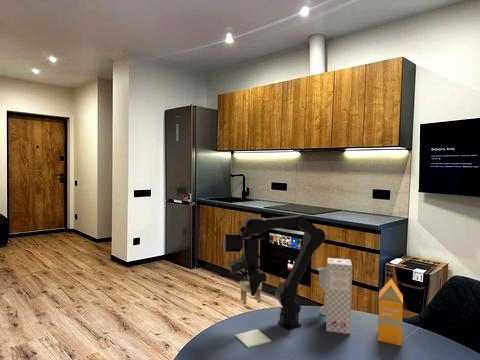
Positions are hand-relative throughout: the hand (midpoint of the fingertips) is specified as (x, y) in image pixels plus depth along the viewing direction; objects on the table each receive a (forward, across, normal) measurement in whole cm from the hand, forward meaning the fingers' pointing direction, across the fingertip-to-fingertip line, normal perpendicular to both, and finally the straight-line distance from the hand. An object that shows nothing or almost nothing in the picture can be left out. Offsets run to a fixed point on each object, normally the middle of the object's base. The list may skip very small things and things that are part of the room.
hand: (250, 293), depth 125 cm
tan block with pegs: (+3, 0, 0) cm, 3 cm away
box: (+13, +7, +32) cm, 36 cm away
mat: (+13, +8, -1) cm, 15 cm away
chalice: (+13, -6, +34) cm, 37 cm away
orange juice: (+13, +18, +46) cm, 51 cm away
